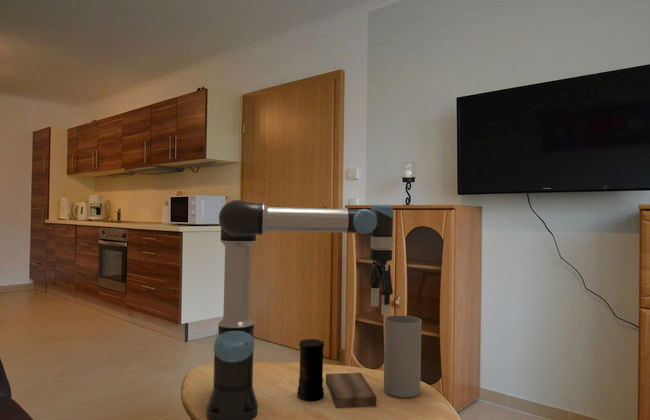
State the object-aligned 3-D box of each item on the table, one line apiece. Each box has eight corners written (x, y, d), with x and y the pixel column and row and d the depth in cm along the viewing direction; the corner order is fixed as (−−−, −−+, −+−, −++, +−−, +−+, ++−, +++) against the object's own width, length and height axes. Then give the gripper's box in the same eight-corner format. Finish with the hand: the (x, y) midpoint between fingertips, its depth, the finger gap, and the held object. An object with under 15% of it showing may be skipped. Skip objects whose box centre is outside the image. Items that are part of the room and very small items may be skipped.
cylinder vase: (387, 382, 166) (388, 314, 166) (421, 387, 162) (423, 317, 162) (380, 395, 154) (382, 321, 154) (418, 401, 150) (419, 325, 150)
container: (298, 390, 157) (299, 338, 157) (324, 391, 157) (325, 338, 157) (295, 401, 148) (296, 345, 148) (323, 402, 148) (324, 346, 148)
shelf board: (336, 407, 143) (336, 398, 143) (325, 382, 165) (326, 373, 165) (376, 406, 145) (376, 396, 145) (360, 381, 167) (361, 372, 167)
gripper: (403, 251, 147) (402, 317, 147) (381, 246, 172) (380, 303, 171) (380, 251, 146) (379, 318, 146) (362, 246, 171) (361, 303, 170)
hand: (380, 310), depth 158 cm, fingers open, 13 cm apart
